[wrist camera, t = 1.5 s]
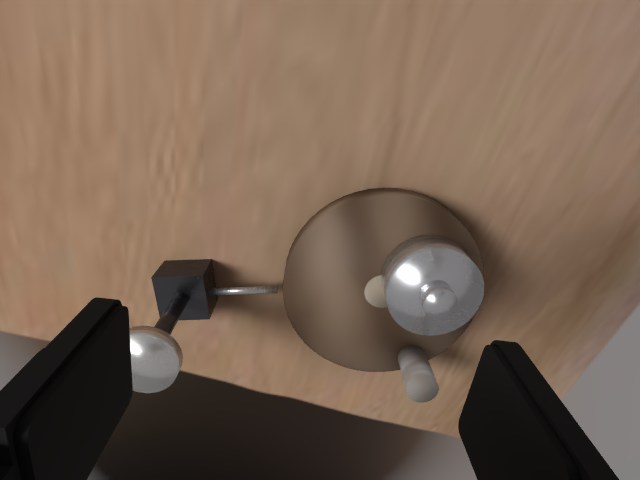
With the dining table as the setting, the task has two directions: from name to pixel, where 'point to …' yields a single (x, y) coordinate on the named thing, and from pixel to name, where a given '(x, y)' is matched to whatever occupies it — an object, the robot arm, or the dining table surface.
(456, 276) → the lid
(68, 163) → the dining table surface
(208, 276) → the lever with ball knob
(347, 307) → the turntable
